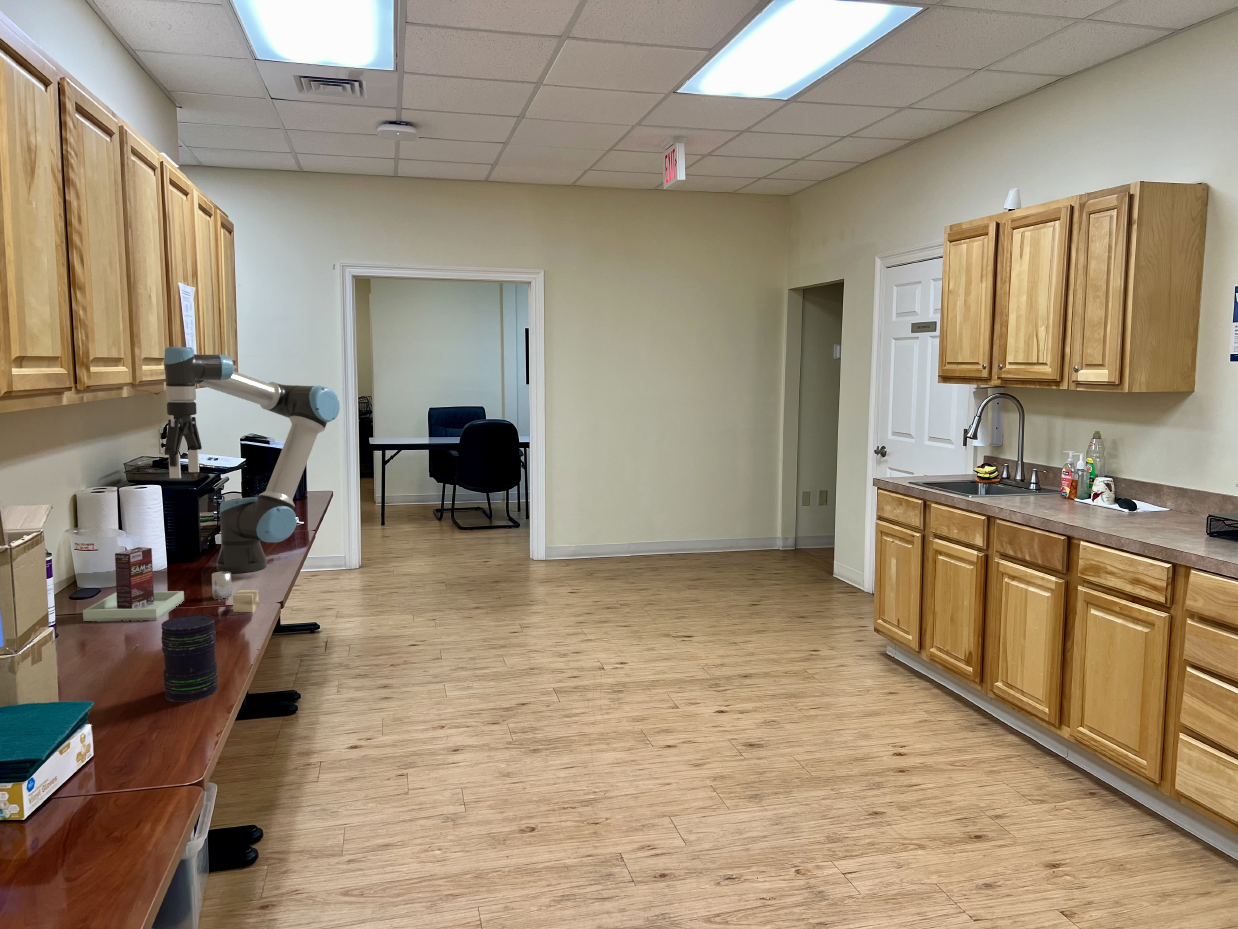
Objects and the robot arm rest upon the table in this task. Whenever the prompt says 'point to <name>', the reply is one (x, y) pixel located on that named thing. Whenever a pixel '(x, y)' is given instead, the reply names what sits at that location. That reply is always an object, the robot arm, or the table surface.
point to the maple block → (245, 601)
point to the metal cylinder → (221, 585)
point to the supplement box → (134, 578)
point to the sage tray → (109, 611)
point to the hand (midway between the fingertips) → (184, 475)
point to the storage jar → (189, 657)
